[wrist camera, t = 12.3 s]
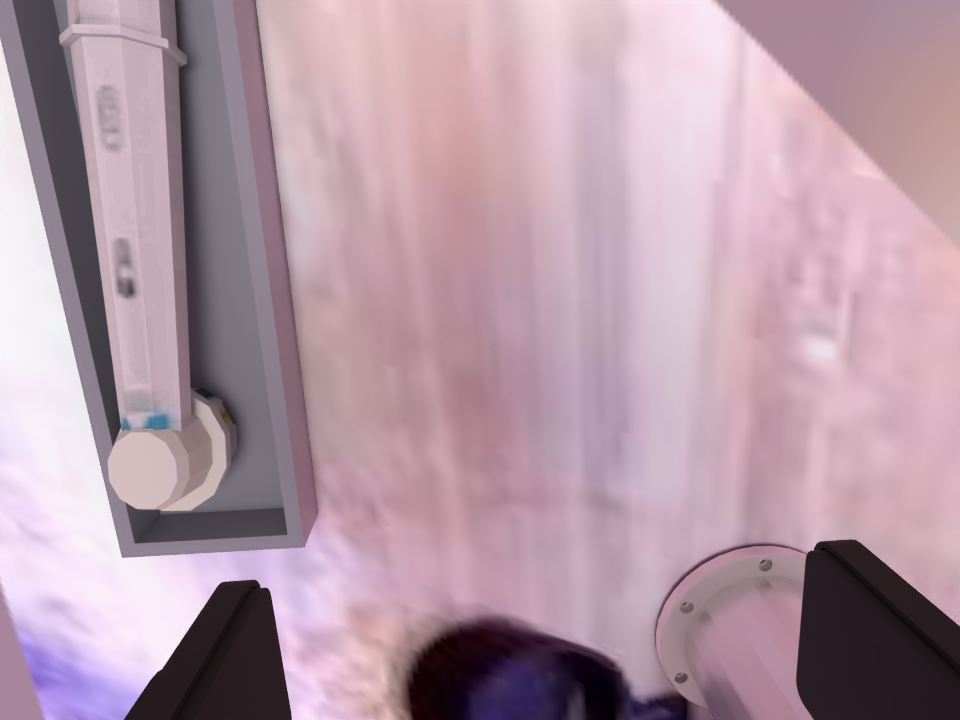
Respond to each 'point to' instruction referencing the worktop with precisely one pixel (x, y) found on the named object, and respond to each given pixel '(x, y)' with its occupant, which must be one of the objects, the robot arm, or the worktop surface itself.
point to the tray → (209, 270)
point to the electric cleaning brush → (144, 251)
